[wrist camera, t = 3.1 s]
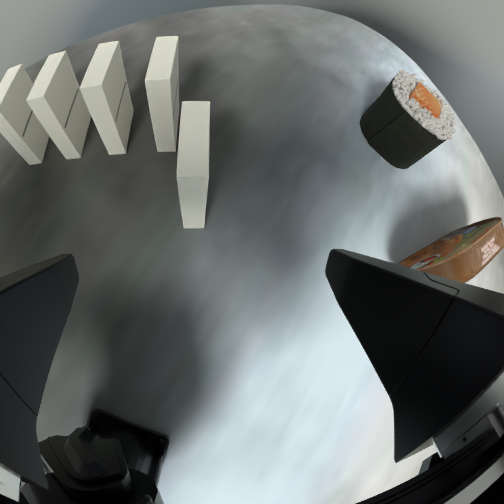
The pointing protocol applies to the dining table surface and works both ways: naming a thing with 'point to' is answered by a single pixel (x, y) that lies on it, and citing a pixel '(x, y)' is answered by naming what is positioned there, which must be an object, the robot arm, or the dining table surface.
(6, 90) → the domino
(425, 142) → the sushi
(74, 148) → the domino
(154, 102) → the domino
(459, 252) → the tin
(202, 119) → the domino
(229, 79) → the dining table surface
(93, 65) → the domino
